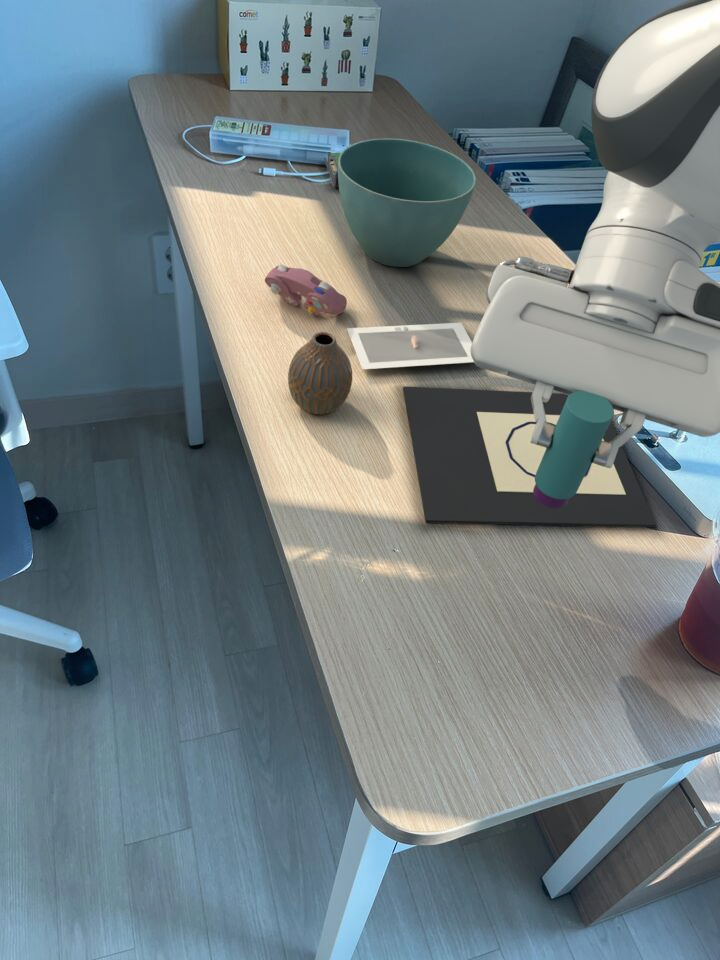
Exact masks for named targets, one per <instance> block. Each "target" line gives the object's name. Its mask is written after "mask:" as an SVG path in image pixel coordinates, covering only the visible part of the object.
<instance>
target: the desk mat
mask: <svg viewBox="0 0 720 960" xmlns="http://www.w3.org/2000/svg"><path fill="white" fill-rule="evenodd" d="M402 392H403V398H404V404H405V409H406V415H407V421H408V426H409V432H410V433H409V434H410V438H411V444H412V451H413V456H414V463H415V468H416V474H417V481H418V486H419V492H420V498H421V503H422V510H423V517H424V522H425V523H426V524H466V525H467V524H473V525H474V524H475V525H476V524H478V525H516V526H517V525H520V526H521V525H523V526H567V527H568V526H571V527H618V528H621V527H622V528H623V527H624V528H656V526H657V524H656V521H655V519H654V517H653V514H652V512H651V510H650V508H649V505H648V503H647V500H646V498H645V496H644V494H643V491H642V489H641V487H640V484H639V482H638V480H637V478H636V475H635V473H634V470H633V468H632V466H631V463H630V461H629V459H628V457H627V454H626V452H625V450H624V448H623V445H622V446H620V447H619V449H618V452H617V454H616V457H615V460H614V463H613V465H612V467H611V468H606V467H603V466H600V465H597V464H594V463H591V464H590V466H589V468H588V470H587V472H586V474H585V476H584V478H583V480H582V482H581V484H580V486H579V488H578V490H577V492H576V494H575V495H574V496H573V497H571V498H569V500H568V502H567V504H566V505H565V506H563V507H561V508H549V507H546V506H544V505H542V504H541V503H539V502H538V501H537V500H536V498H535V497H534V493H533V489H534V487H535V484H536V483H535V475H536V472H537V470H538V467H539V465H540V463H541V460H542V458H543V455H544V453H545V451H546V448H545V447H542V446H539V445H536V444H532V443H530V441H531V437H532V435H533V432H534V429H535V426H536V423H537V422H536V421H535V417H534V412H533V407H532V402H531V395H532V393H533V391H515V390H514V391H513V390H493V389H492V390H490V389H469V388H449V387H448V388H446V387H427V386H426V387H423V386H402ZM568 396H569V395H566V394H563V393H560V392H556V393H555V392H552V394H551V397H550V399H549V400H548V402H543V406H544V411H545V416H546V421H547V422H546V423H549V424H552V425H555V426H556V424H557V422H558V419H559V417H560V414H561V412H562V410H563V407H564V405H565V402H566V400H567V398H568ZM616 431H617V430H616V428H615V427H614V424H613V422H612V421H611V422H610V424H609V426H608V428H607V431H606V433H605V435H604V437H603V439H602V441H605V442H608V443H609V442H611V441H612V440H613V439H614V438H615V437H616V436H618V434H617V432H616Z"/></svg>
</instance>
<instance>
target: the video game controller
mask: <svg viewBox="0 0 720 960" xmlns="http://www.w3.org/2000/svg"><path fill="white" fill-rule="evenodd" d="M264 282H265V284H266V285H267V287H268V288H269V290H270V291H271V292H272V293H273V294H276V295H278V296H279V297H281V298H282V299H283V300H284V302H286V304H288V305H290V306H293V307H296V306H298V305H299V303H300V302H301V301H302V298H305V302H304V303H303V308H304V309H305V310H306V311H307V312H308V313H309V314H311V315H314V316H319V315H320V314H321V313H323V314H324V313H325V314H331V315H340V314H343V313H344V312H345V311H346V308H347V304H348V301H347V297H346V296H344V294H341V293H340V292H338V291H337V290H336V289H335V287H334V286H332V285H330V284H329V283H328V282H326V281H324V280H322V279H320V278H318V276H316V275H315V274H313V272H311V271H309V270H308V269H305V268H299V267H289V266H287V265H285V264H283V263H280V264H279V265H276V266H275V267H273V268H272V269H271V270H270V271H269V272H268V273H267V275H265V277H264Z"/></svg>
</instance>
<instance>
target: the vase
mask: <svg viewBox="0 0 720 960" xmlns="http://www.w3.org/2000/svg"><path fill="white" fill-rule="evenodd" d="M287 373H288V374H287V385H288V389H289V393H290V396H291V398H292V399H293V401H294V403H296V405H297V406H298V407H299V408H301V409H302V410H304V411H305V412H307V413H309V414H313V415H326V414H329V413H333V412H334V411H336V410H338V409H339V408H340V407H342V405H343V404H344V403H345V401H347V398H348V397H349V394H350V392H351V389H352V385H353V368H352V364H351V361H350V358H349V356H348V354H347V353H346V352H345V351H344V349H343V348H342V347H341V346H340V345H339V343H338V341H337V338H336V337H335V336H334V335H333V334H332V333H329V332H326V331H319V332H316V333H315V334H314V335H313V336H312V337H311V338H310V340H309V341H308V342H306V343H305V344H303V345H302V346H301V347H300V348H299V349H298V350H297V351H296V352H295V353H294V355H293V357H292V359H291V361H290V364H289V367H288V372H287Z"/></svg>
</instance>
